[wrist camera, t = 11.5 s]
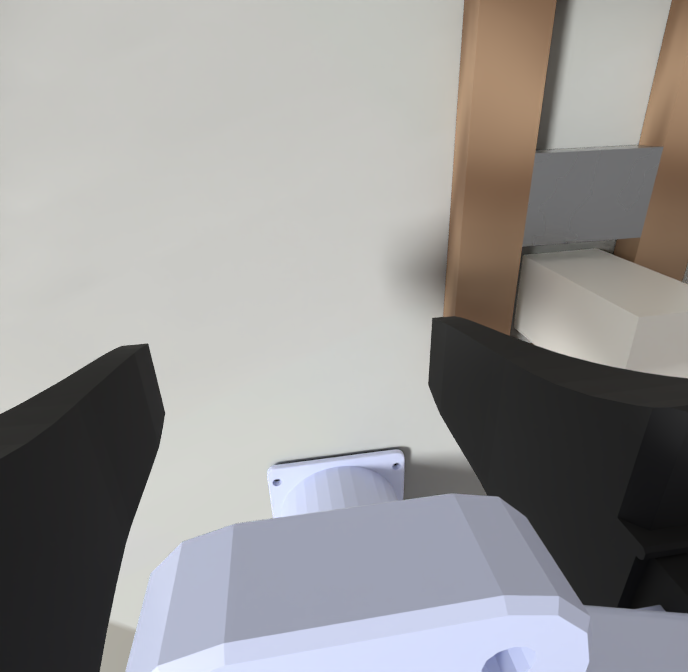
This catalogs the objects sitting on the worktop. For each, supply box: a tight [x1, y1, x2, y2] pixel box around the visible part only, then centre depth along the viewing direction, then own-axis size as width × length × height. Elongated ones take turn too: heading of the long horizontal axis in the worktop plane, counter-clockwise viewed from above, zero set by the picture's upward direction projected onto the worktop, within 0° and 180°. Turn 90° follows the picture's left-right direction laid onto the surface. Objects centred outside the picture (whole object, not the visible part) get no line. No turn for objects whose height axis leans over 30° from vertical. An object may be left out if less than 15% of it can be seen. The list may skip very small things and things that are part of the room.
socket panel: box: [443, 0, 688, 345], centre depth 21 cm, size 20×12×2 cm, turn 2°
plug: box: [514, 248, 688, 378], centre depth 20 cm, size 4×4×8 cm
